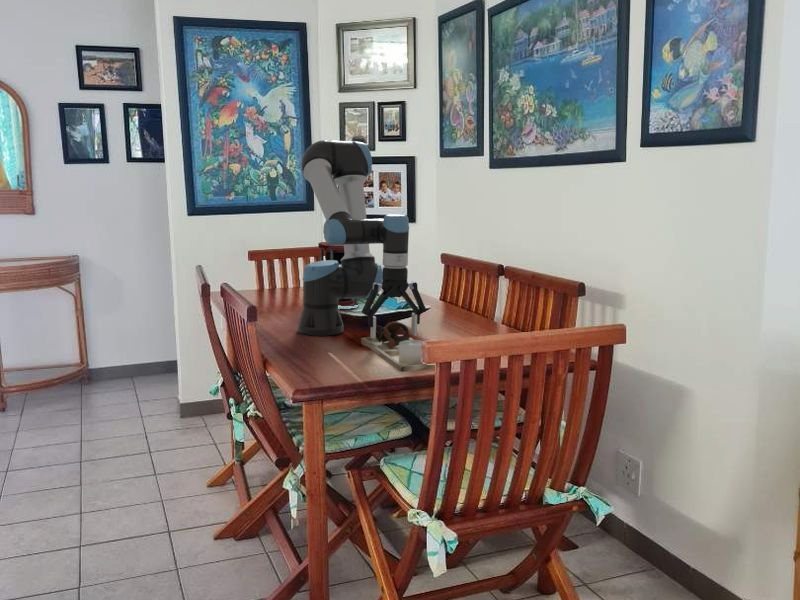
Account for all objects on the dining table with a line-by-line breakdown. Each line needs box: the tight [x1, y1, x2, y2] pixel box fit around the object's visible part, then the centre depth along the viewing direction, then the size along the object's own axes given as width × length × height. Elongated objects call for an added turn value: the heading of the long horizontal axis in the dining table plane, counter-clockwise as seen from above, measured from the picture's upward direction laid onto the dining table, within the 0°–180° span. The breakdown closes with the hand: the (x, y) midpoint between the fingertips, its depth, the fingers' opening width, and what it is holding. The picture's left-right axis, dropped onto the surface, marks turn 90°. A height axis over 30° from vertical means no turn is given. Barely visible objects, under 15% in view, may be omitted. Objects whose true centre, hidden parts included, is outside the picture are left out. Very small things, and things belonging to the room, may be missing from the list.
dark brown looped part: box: [376, 321, 411, 349], centre depth 224 cm, size 12×10×8 cm
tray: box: [360, 334, 435, 372], centre depth 216 cm, size 15×35×2 cm, turn 21°
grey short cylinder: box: [399, 339, 425, 365], centre depth 207 cm, size 9×9×5 cm
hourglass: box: [317, 241, 360, 306], centre depth 286 cm, size 16×16×25 cm
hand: (393, 336), depth 223 cm, fingers open, 13 cm apart
